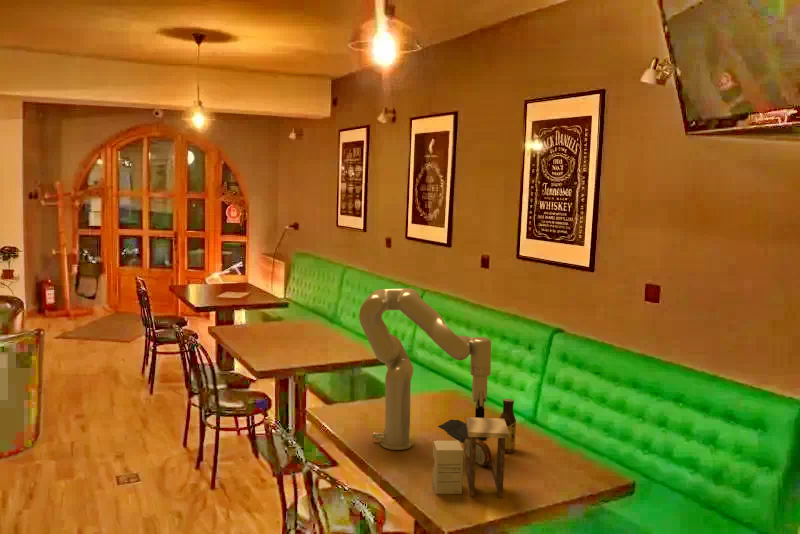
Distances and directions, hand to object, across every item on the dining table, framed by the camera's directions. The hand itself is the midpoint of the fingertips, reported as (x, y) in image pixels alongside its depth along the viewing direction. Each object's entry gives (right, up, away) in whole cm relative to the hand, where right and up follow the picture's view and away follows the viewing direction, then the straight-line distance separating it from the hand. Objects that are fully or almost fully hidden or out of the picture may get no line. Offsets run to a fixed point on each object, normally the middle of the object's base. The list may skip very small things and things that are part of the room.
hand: (479, 417), depth 259 cm
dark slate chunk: (-4, -12, +21) cm, 24 cm away
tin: (-2, -15, -8) cm, 17 cm away
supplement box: (-15, -17, -32) cm, 39 cm away
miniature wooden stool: (-2, -16, -24) cm, 29 cm away
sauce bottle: (+11, -14, +4) cm, 18 cm away
